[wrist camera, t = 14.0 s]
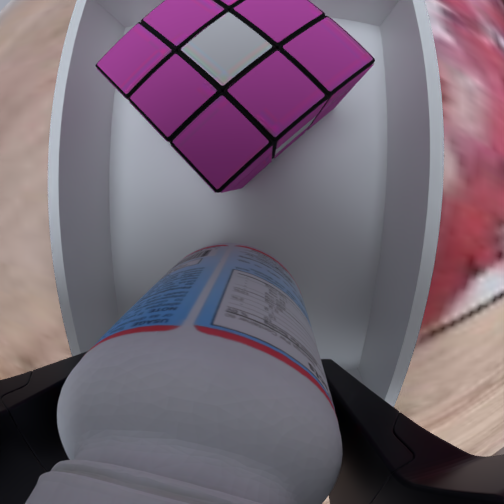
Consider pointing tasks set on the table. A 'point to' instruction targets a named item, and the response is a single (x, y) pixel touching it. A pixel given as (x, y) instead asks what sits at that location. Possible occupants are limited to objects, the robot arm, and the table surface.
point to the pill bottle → (201, 395)
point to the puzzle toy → (234, 79)
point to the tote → (259, 193)
